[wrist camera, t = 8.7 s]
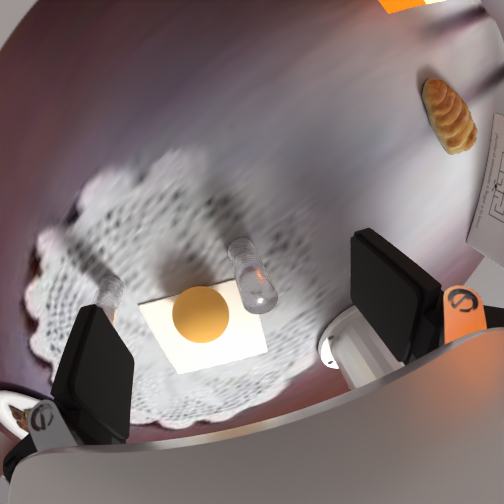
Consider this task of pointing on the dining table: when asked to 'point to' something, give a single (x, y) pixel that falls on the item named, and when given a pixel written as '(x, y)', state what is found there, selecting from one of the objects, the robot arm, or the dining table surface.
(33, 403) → the plated food
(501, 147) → the cereal box
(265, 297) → the post right
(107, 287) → the post left
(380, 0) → the orange juice
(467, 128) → the pastry
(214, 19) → the dining table surface
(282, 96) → the dining table surface
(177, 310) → the ball
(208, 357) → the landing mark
